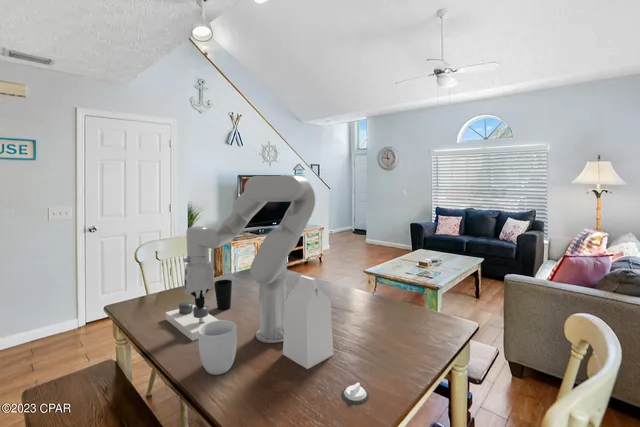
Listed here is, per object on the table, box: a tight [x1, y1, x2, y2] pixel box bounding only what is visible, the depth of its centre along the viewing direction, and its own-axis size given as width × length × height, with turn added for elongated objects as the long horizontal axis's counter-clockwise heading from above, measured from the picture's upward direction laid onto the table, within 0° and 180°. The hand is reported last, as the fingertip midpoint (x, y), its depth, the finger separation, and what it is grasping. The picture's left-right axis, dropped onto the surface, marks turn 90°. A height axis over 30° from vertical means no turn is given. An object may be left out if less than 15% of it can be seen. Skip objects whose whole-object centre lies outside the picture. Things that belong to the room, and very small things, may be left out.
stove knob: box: [341, 381, 370, 406], centre depth 87 cm, size 7×7×3 cm
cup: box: [213, 279, 233, 312], centre depth 147 cm, size 8×8×12 cm
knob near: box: [193, 304, 209, 324], centre depth 125 cm, size 5×5×6 cm
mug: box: [197, 319, 238, 376], centre depth 101 cm, size 15×11×13 cm
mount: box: [165, 304, 219, 342], centre depth 131 cm, size 26×12×3 cm, turn 45°
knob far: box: [178, 301, 194, 314], centre depth 135 cm, size 5×5×6 cm
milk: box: [282, 275, 334, 370], centre depth 107 cm, size 12×12×26 cm
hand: (200, 306), depth 125 cm, fingers closed
